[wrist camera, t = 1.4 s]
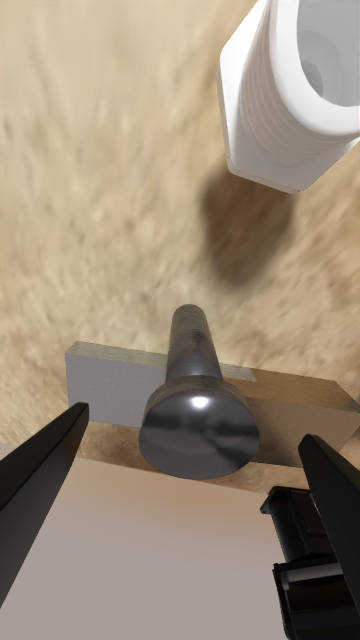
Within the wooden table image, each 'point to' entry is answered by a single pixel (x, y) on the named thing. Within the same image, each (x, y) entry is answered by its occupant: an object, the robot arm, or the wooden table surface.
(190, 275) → the wooden table surface
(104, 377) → the tan and silver block
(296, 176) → the pipe fitting
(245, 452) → the metal knob
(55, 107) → the wooden table surface
